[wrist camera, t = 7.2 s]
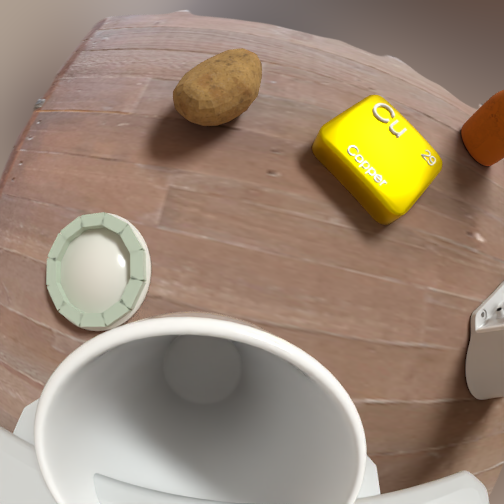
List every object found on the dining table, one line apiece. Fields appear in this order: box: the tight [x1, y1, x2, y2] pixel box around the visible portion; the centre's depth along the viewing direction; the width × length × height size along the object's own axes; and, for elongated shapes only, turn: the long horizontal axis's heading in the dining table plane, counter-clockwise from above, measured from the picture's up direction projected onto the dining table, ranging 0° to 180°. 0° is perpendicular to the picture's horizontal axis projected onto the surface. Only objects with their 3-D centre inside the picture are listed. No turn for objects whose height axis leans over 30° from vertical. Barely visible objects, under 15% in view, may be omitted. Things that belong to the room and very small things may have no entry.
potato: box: [173, 48, 262, 126], centre depth 34 cm, size 10×14×8 cm
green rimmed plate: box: [46, 212, 152, 331], centre depth 31 cm, size 14×14×2 cm
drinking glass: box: [34, 311, 367, 504], centre depth 11 cm, size 7×7×15 cm
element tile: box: [312, 95, 442, 225], centre depth 36 cm, size 15×15×5 cm
